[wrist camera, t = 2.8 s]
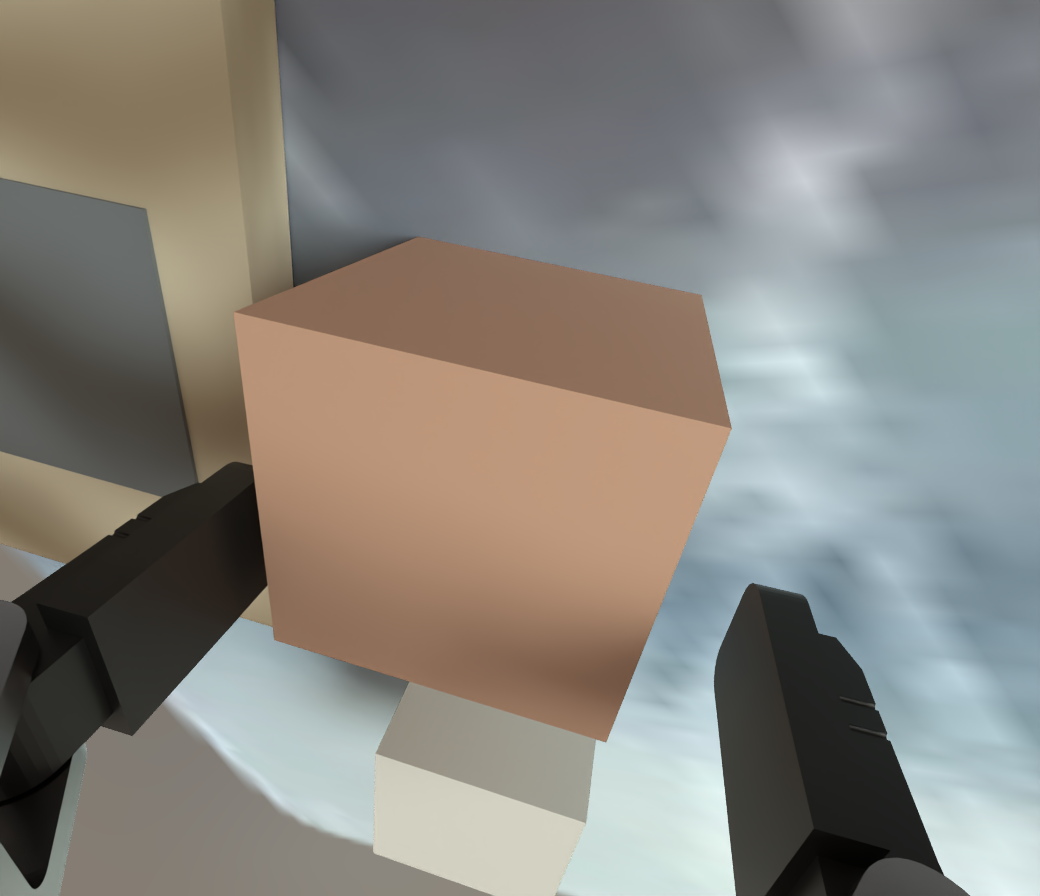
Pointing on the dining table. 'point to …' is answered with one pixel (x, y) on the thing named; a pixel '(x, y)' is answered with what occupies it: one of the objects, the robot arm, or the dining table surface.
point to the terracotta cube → (479, 470)
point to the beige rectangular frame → (130, 254)
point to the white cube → (480, 794)
